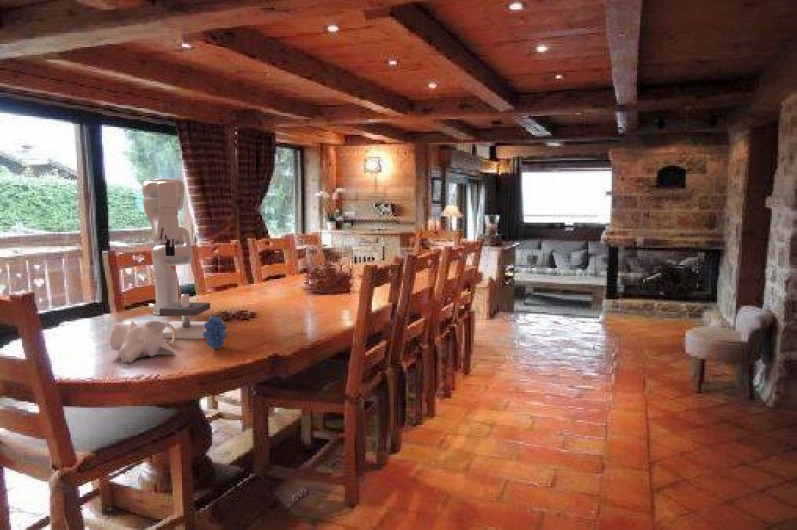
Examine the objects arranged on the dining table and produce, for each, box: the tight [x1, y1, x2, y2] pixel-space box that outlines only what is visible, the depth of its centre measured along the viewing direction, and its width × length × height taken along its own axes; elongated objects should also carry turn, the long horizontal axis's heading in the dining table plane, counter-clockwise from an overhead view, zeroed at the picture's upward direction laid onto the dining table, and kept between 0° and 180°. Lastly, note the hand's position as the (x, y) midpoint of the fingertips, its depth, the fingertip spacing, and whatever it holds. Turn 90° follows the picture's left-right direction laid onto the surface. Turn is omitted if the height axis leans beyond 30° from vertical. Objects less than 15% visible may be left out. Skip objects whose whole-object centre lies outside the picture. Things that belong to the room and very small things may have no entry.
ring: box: [164, 321, 177, 345], centre depth 198 cm, size 7×3×8 cm, turn 67°
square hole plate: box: [159, 301, 211, 317], centre depth 216 cm, size 14×14×2 cm
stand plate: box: [162, 320, 224, 340], centre depth 217 cm, size 22×20×2 cm
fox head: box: [109, 319, 177, 364], centre depth 180 cm, size 14×17×20 cm
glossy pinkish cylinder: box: [180, 293, 191, 328], centre depth 216 cm, size 4×4×13 cm
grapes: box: [203, 316, 228, 350], centre depth 191 cm, size 12×7×12 cm, turn 163°
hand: (170, 255), depth 228 cm, fingers closed
